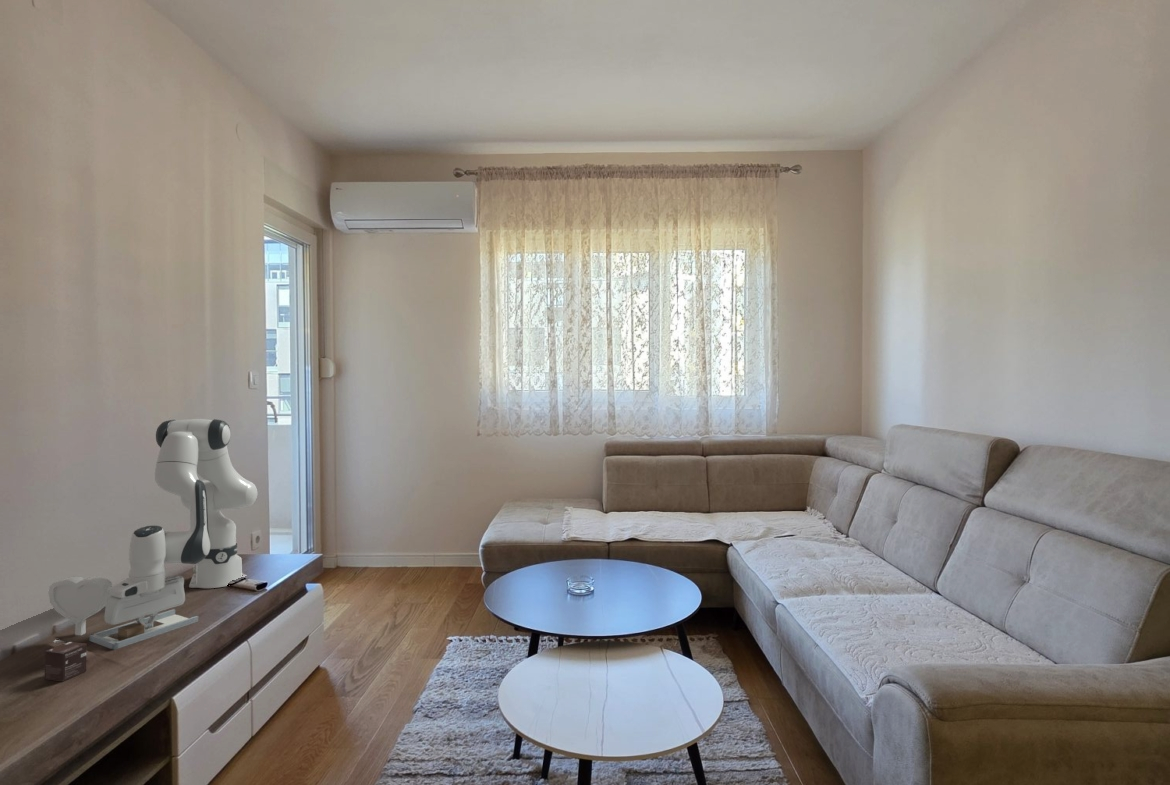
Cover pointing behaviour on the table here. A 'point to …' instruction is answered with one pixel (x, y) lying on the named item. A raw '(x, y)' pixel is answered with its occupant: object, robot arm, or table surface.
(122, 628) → the walnut block
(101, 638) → the track
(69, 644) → the box
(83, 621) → the heart sculpture
